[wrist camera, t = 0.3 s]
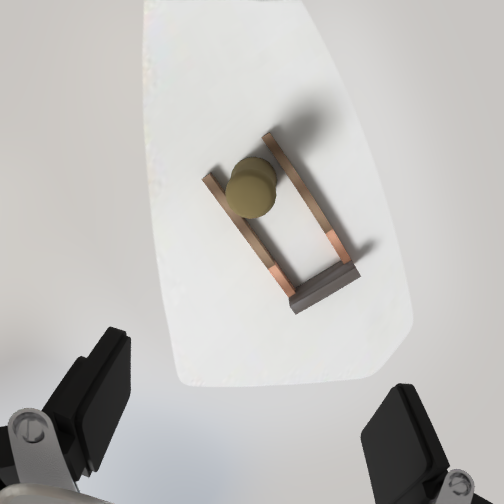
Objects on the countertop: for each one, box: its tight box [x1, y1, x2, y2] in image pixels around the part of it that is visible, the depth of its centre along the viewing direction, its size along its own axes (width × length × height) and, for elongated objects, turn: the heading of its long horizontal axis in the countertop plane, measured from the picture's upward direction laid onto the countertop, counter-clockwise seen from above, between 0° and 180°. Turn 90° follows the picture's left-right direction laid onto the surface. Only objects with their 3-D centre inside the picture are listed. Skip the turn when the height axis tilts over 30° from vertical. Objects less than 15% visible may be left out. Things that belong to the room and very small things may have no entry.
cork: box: [225, 157, 277, 219], centre depth 36 cm, size 6×6×11 cm
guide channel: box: [202, 132, 361, 314], centre depth 41 cm, size 22×10×4 cm, turn 35°
